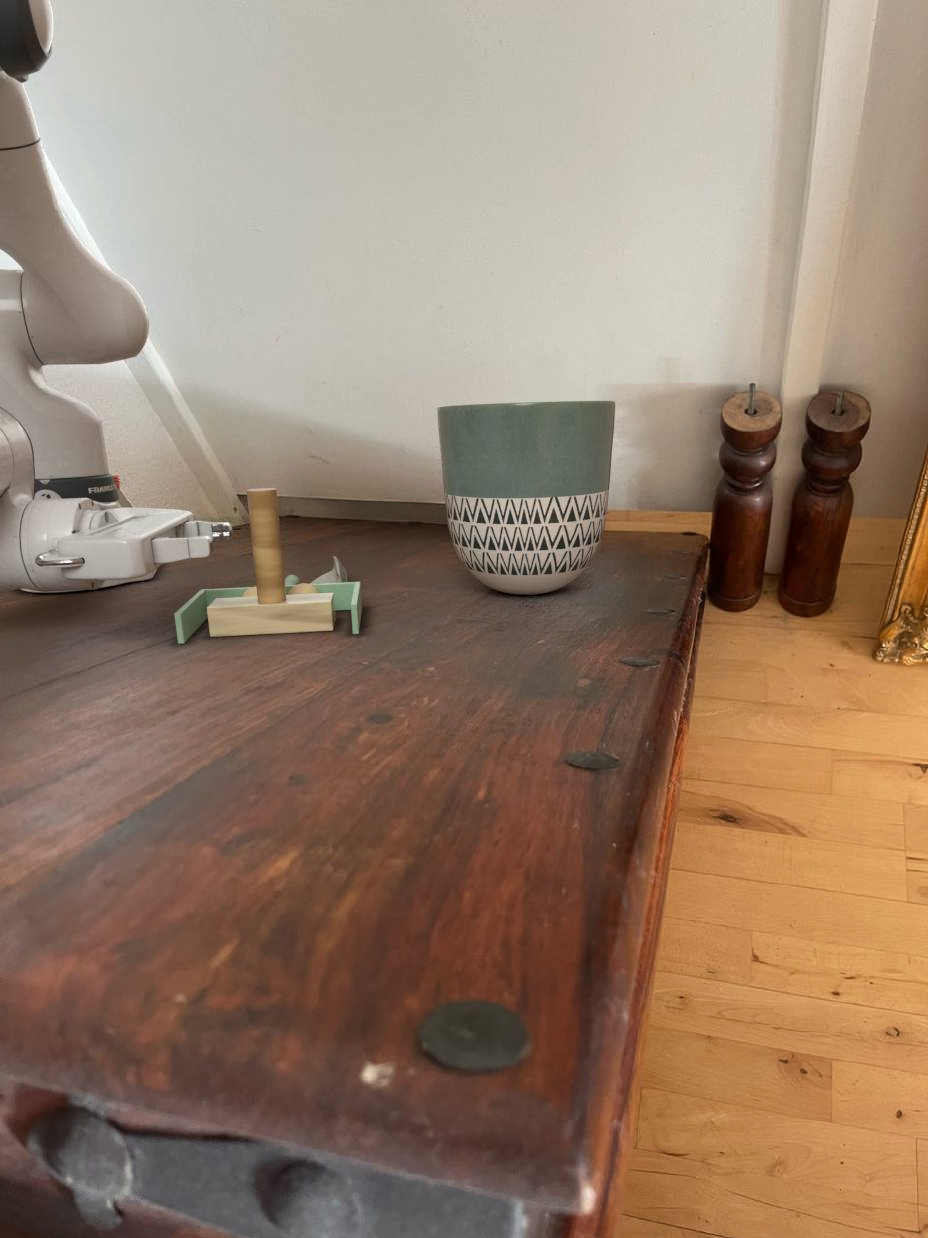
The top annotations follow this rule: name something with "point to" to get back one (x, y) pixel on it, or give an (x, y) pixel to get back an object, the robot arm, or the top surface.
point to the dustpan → (196, 607)
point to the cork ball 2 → (303, 589)
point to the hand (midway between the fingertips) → (221, 538)
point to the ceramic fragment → (333, 574)
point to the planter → (526, 489)
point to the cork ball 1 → (250, 592)
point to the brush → (269, 585)
